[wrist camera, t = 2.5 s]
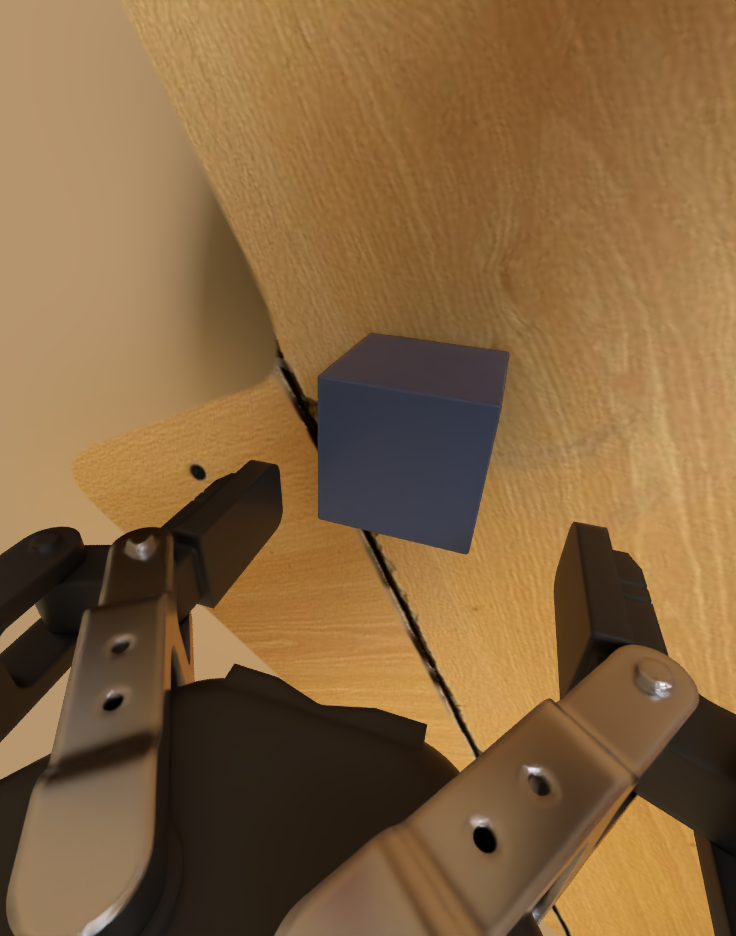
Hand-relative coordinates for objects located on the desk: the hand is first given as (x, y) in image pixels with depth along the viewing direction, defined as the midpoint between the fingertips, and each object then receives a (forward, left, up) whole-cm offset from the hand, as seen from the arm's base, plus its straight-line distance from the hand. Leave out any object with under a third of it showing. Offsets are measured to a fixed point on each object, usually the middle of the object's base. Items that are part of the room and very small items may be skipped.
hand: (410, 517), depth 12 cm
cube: (-1, -1, -6) cm, 6 cm away
